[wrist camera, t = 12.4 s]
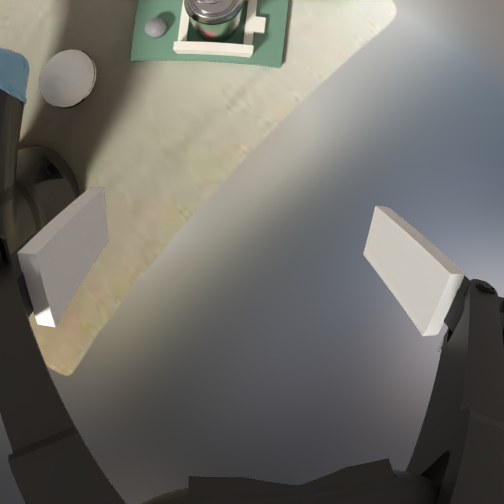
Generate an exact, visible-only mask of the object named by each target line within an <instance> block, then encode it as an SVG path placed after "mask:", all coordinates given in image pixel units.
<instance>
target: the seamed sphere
mask: <svg viewBox="0 0 504 504" xmlns="http://www.w3.org/2000/svg"><path fill="white" fill-rule="evenodd" d="M101 76H102V75H101ZM95 80H96V67H95V64H94V61H93V60H92V59H91V58H90V56H89V55H88V54H87V53H85V52H84V51H80V50H66V51H62V52H59V53H57V54H56V55H54V56H53V57H52V58H51V59H50V60H49V61H48V62H47V63H46V64H45V65H44V67H43V69H42V71H41V74H40V78H39V88H40V91H41V94H42V96H43V97H44V99H45V100H46V101H47V102H48V103H50V104H51V105H53V106H55V107H58V108H71V107H74V106H76V105H78V104H79V103H81V102H82V101H83V100H84V99H85V98H86V97H87V96H88V95H89V94H90V92H91V90H92V89H93V87H94V84H95Z"/></svg>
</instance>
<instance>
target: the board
mask: <svg viewBox="0 0 504 504" xmlns="http://www.w3.org/2000/svg"><path fill="white" fill-rule="evenodd" d="M288 2H289V0H244V2H243V7H242V12H241V16H240V21H239V26H238V29H237V31H236V33H235V34H234V36H233V37H231V38H230V39H229V40H227V41H224V42H221V43H216V42H207V41H205V40H203V39H202V38H200V37H199V36H198V34H197V33H196V31H195V29H194V26H193V24H192V22H191V20H190V18H189V16H188V14H187V12H186V9H185V6H184V0H138V4H137V10H136V17H135V24H134V32H133V40H132V48H131V58H130V61H210V62H226V63H239V64H250V65H259V66H268V67H276V68H280V67H281V63H282V54H283V46H284V37H285V28H286V19H287V11H288Z"/></svg>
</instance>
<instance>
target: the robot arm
mask: <svg viewBox="0 0 504 504" xmlns="http://www.w3.org/2000/svg"><path fill="white" fill-rule="evenodd" d="M28 76H29V63H28V61H27V59H26V58H25V57H24V56H23V55H22V54H20V53H17V52H15V51H12V50H8V49H4V48H0V413H1V416H2V420H3V423H4V426H5V429H6V432H7V435H8V438H9V441H10V444H11V446H12V450H13V454H11V455H9V459H8V460H9V464H10V467H11V470H12V473H13V476H14V478H15V480H16V483H17V485H18V488H19V490H20V492H21V494H22V496H23V498H24V501H25V503H26V504H126V503H125V501H124V500H123V499H122V497H121V496H120V495H119V493H118V492H117V491H116V489H115V488H114V486H113V485H112V484H111V482H110V481H109V479H108V478H107V476H106V475H105V473H104V472H103V471H102V469H101V467H100V466H99V464H98V463H97V461H96V460H95V459H94V457H93V455H92V453H91V452H90V450H89V448H88V447H87V445H86V444H85V442H84V440H83V438H82V436H81V435H80V433H79V431H78V429H77V428H76V426H75V424H74V422H73V420H72V419H71V416H70V415H69V413H68V411H67V409H66V407H65V405H64V403H63V401H62V399H61V397H60V395H59V393H58V390H57V388H56V386H55V384H54V382H53V380H52V377H51V375H50V373H49V371H48V368H47V366H46V364H45V361H44V359H43V356H42V354H41V351H40V349H39V346H38V344H37V341H36V338H35V336H34V333H33V330H32V327H31V325H30V322H29V319H28V318H29V316H30V315H31V313H32V312H34V315H35V318H36V321H37V324H39V325H45V326H51V327H56V326H57V324H58V322H59V320H60V318H61V317H62V315H63V313H64V311H65V310H66V308H67V306H68V304H69V303H70V301H71V299H72V298H73V296H74V294H75V293H76V291H77V289H78V288H79V286H80V284H81V283H82V281H83V280H84V278H85V276H86V275H87V273H88V272H89V270H90V268H91V267H92V265H93V264H94V262H95V261H96V259H97V258H98V256H99V255H100V253H101V252H102V250H103V248H104V247H105V246H106V244H107V243H108V241H109V239H108V228H107V216H106V201H105V187H90V188H89V189H88V190H87V191H85V192H84V193H83V194H82V195H80V196H79V192H78V187H77V183H76V180H75V178H74V175H73V173H72V171H71V169H70V168H69V166H68V165H67V163H66V162H65V161H64V160H63V159H62V158H61V157H60V156H59V155H58V154H57V153H55V152H54V151H52V150H50V149H48V148H45V147H41V146H28V147H25V148H22V149H20V150H18V147H19V138H20V130H21V123H22V116H23V110H24V104H26V97H25V96H26V88H27V81H28ZM364 256H365V257H366V258H367V260H368V261H369V262H370V264H371V265H372V266H373V267H374V269H375V270H376V272H377V273H378V274H379V276H380V277H381V278H382V279H383V281H384V282H385V284H386V285H387V286H388V288H389V289H390V290H391V292H392V293H393V294H394V296H395V297H396V298H397V300H398V301H399V303H400V304H401V305H402V307H403V308H404V309H405V311H406V313H407V314H408V315H409V317H410V318H411V320H412V321H413V322H414V324H415V325H416V327H417V328H418V330H419V331H420V333H421V334H422V336H430V335H437V334H438V333H439V330H440V328H441V327H442V324H443V323H444V322H445V324H446V325H447V326H448V330H447V332H446V334H445V336H444V338H443V340H442V341H441V343H440V345H439V347H438V349H437V351H438V352H439V350H440V349H442V351H441V355H440V361H439V365H438V369H437V374H436V378H435V382H434V386H433V390H432V394H431V397H430V401H429V404H428V408H427V411H426V415H425V418H424V421H423V425H422V428H421V431H420V434H419V437H418V440H417V443H416V446H415V448H414V451H413V454H412V457H411V459H410V462H409V465H408V467H407V469H406V470H405V471H399V470H393V469H392V467H391V464H390V461H389V459H384V460H379V461H375V462H370V463H365V464H360V465H355V466H350V467H346V468H343V469H341V470H339V471H336V472H334V473H331V474H329V475H326V476H324V477H321V478H319V479H316V480H314V481H311V482H308V483H305V484H302V485H288V484H280V483H273V482H267V481H260V480H255V479H249V478H244V477H195V476H189V488H184V489H178V490H174V491H171V492H167V493H164V494H161V495H159V496H156V497H154V498H152V499H150V500H148V501H146V502H144V503H142V504H504V298H502V297H498V294H497V292H496V290H495V289H494V288H493V287H492V286H491V285H490V284H488V283H487V282H485V281H481V280H478V279H472V280H471V281H470V280H469V279H468V278H467V277H466V276H465V274H464V273H463V272H462V271H461V270H460V269H459V268H458V267H457V266H456V265H455V264H454V263H453V262H452V261H450V260H449V259H448V258H447V257H446V256H445V255H444V254H443V253H442V252H441V251H439V250H438V249H437V248H436V247H435V246H434V245H433V244H432V243H430V242H429V241H428V240H427V239H426V238H425V237H423V236H422V235H421V234H420V233H419V232H418V231H417V230H415V229H414V228H413V227H412V226H411V225H409V224H408V223H407V222H406V221H405V220H403V219H402V218H401V217H400V216H398V215H397V214H396V213H395V212H394V211H392V210H391V209H390V208H388V207H382V206H376V207H375V211H374V215H373V219H372V223H371V227H370V231H369V235H368V239H367V242H366V246H365V250H364Z"/></svg>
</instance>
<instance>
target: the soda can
mask: <svg viewBox="0 0 504 504" xmlns="http://www.w3.org/2000/svg"><path fill="white" fill-rule="evenodd" d="M243 2H244V0H184V6H185V9H186V12H187V14H188V16H189V18H190V20H191V22H192V24H193V26H194V29H195V31H196V33H197V34H198V36H199V37H200V38H202V39H203V40H205V41H207V42H216V43H221V42H224V41H227V40H229V39H230V38H231V37H233V36H234V34H235V33H236V31H237V29H238V26H239V21H240V16H241V12H242V7H243Z"/></svg>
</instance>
